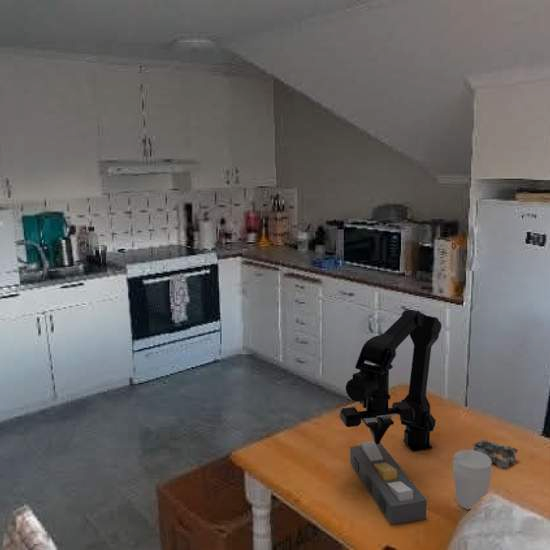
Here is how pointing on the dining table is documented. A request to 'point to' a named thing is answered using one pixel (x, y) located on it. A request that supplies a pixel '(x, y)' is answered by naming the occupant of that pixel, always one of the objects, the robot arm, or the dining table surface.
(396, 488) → the rocker
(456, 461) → the cup
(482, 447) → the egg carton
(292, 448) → the dining table surface
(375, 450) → the rocker
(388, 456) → the rocker switch panel
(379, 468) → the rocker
